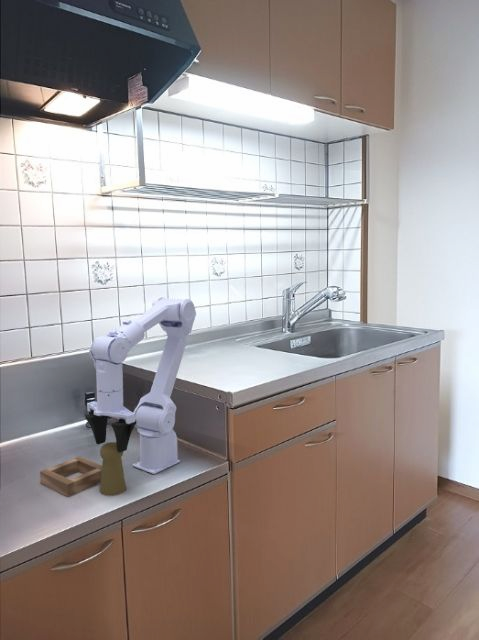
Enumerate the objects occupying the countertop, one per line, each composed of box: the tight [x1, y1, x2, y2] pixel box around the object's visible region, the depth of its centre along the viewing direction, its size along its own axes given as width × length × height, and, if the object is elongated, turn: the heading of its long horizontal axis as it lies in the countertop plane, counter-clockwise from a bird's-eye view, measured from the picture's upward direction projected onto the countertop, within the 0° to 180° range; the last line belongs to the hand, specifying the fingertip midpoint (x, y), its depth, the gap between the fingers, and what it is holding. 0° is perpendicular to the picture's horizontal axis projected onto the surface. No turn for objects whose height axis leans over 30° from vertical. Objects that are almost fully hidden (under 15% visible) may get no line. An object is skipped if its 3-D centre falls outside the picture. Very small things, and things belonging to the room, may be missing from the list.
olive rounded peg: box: [99, 441, 127, 497], centre depth 115 cm, size 6×6×11 cm
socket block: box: [39, 456, 102, 498], centre depth 119 cm, size 11×11×3 cm
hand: (111, 446), depth 114 cm, fingers open, 7 cm apart
